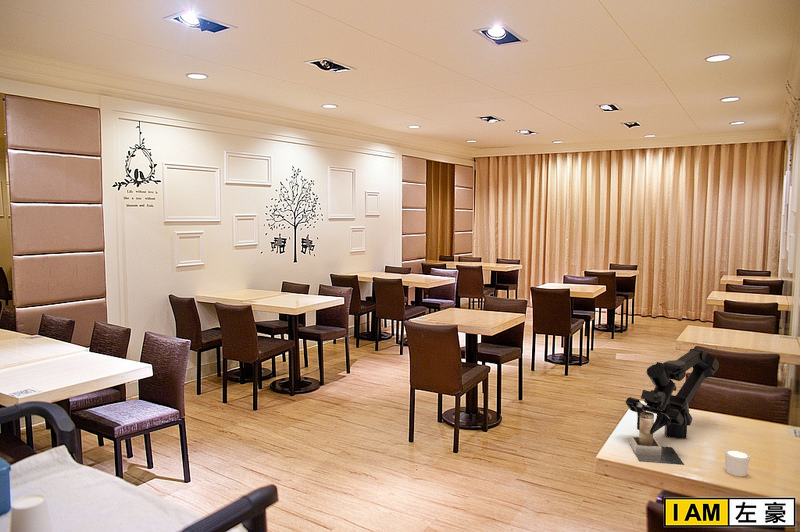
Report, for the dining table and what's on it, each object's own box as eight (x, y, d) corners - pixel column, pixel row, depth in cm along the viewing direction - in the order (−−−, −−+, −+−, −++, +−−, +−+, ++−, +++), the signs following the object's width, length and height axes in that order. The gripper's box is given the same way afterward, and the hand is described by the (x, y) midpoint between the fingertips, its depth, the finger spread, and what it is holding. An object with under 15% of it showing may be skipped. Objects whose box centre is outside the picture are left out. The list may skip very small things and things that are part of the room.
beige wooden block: (653, 446, 194) (655, 413, 193) (651, 451, 190) (652, 417, 189) (640, 443, 196) (641, 410, 195) (637, 448, 193) (638, 414, 192)
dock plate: (672, 449, 196) (672, 438, 195) (684, 467, 182) (685, 456, 182) (629, 446, 198) (630, 436, 198) (638, 464, 185) (639, 452, 184)
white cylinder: (748, 482, 172) (750, 460, 171) (723, 476, 176) (724, 455, 175) (748, 473, 178) (750, 452, 177) (724, 468, 182) (725, 447, 181)
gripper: (629, 374, 201) (610, 411, 195) (681, 387, 186) (662, 427, 180) (639, 391, 206) (622, 427, 201) (691, 405, 191) (674, 444, 186)
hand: (644, 431), depth 192 cm, fingers closed on beige wooden block, 4 cm apart
